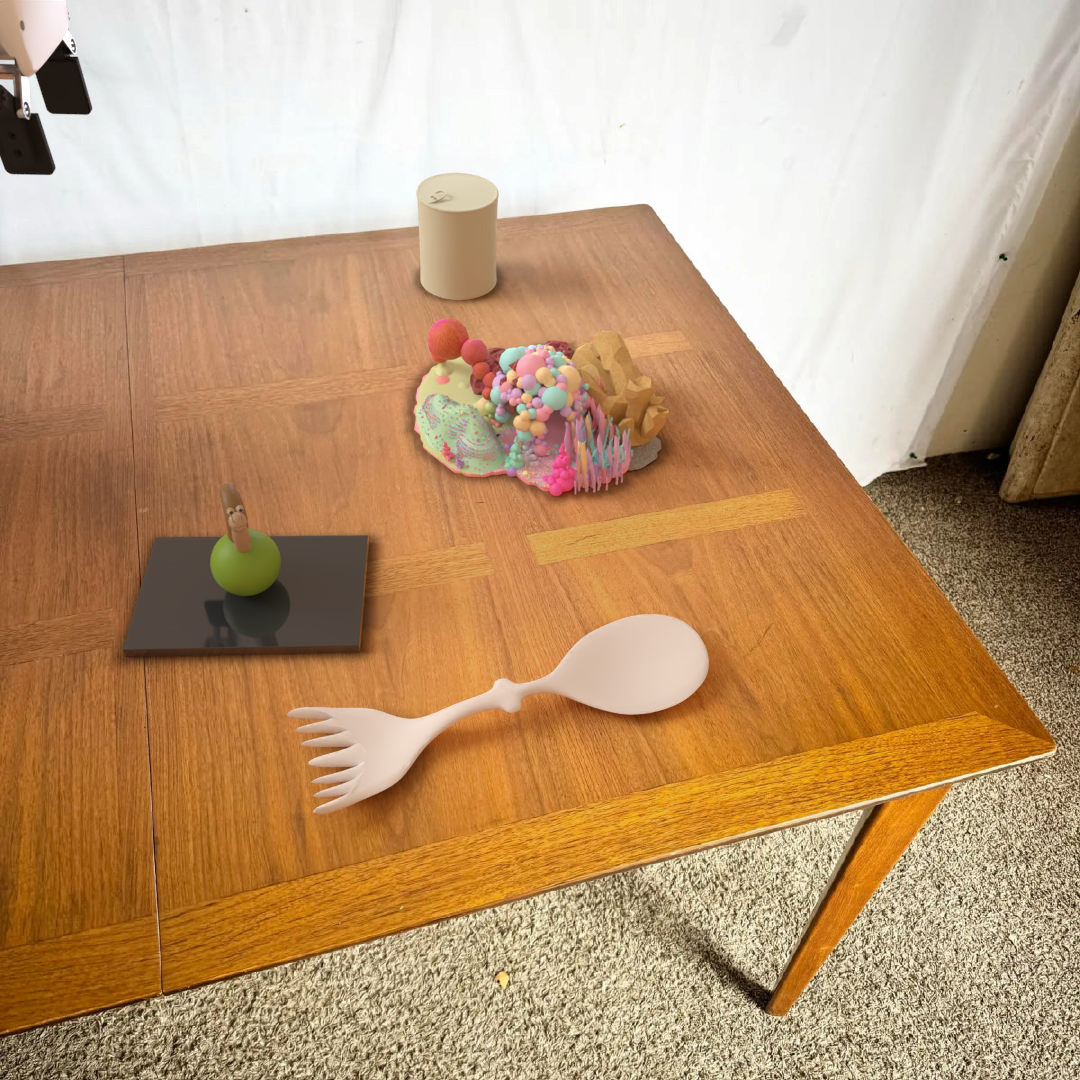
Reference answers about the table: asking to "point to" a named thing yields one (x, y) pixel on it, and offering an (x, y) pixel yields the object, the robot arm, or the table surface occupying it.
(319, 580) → the slate board
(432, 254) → the can
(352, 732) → the spoon
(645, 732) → the table surface
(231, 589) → the apple with worm toy
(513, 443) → the candy landscape model
